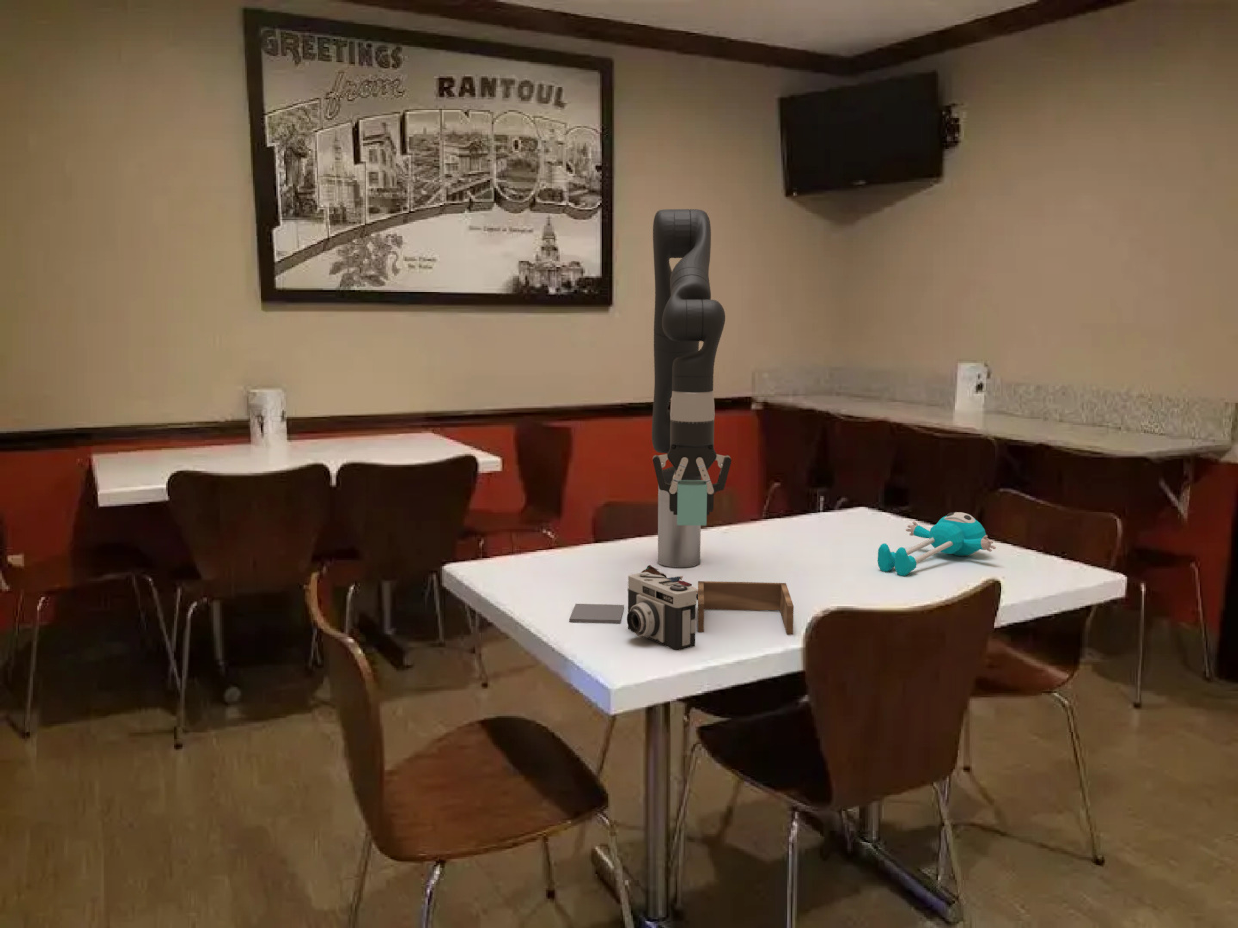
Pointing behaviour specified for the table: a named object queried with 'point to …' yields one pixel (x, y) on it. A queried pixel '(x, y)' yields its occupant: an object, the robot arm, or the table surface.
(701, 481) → the block
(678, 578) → the toy
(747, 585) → the bay
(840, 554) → the table surface
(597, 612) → the mat
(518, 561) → the table surface
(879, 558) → the toy
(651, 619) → the camera
